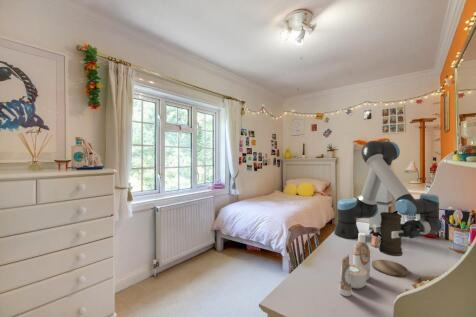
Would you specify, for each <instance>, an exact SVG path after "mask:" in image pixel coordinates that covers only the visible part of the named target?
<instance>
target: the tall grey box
mask: <svg viewBox="0 0 476 317" xmlns="http://www.w3.org/2000/svg"><path fill="white" fill-rule="evenodd" d="M375 200H376V202H377V205H378V213H377V214H376V215H375V216H374V217H371V218H368V220H369V222H368V225H369V226H368V230H369V231H370V232H371V231H372V230H373V225H377V226H380V224H381V215H380V214H381V213H382V212H389V208H390V207H392V206H393V197H392V195H391V194H390V192H389V191H388V190H387V188H386V187H385V186H384V184H383V183H382V182H381V185H380V188H379V190H378V193H377V196H376V199H375ZM380 233H381V232H380Z"/></svg>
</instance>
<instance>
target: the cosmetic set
mask: <svg viewBox="0 0 476 317" xmlns="http://www.w3.org/2000/svg"><path fill="white" fill-rule="evenodd" d="M366 236H367V235H366V233H363V232H359V234H358V238H357V242H355V244H354V246H353V248H352V250H353V252H352V263H350V253H348V254H346V255H345V256H344V257H343V258H342V260H341V261H342V262H341V263H342V264H341V266H340V276H339V283H338V292H339V294H340V295H341V296H343V297H351V296H352V294H353V293H352V292H353V291H352V288H353V289H362V288H363V287H365V286H366V284H367V280H369V279H370V276H371V275H370V274H371V273H370V272H371V271H370V270H371V250H370V248H369V245H368V244H367V242H366Z"/></svg>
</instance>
